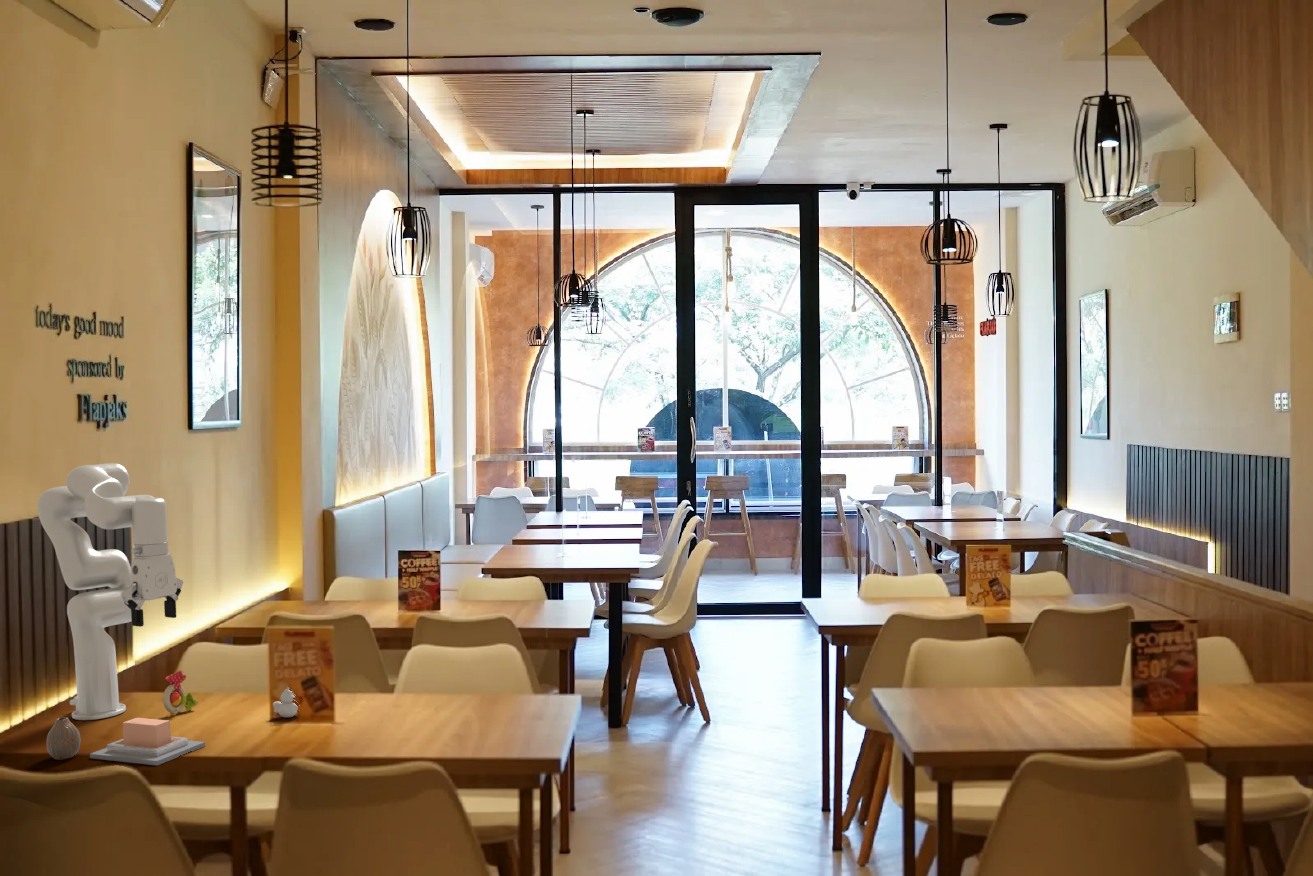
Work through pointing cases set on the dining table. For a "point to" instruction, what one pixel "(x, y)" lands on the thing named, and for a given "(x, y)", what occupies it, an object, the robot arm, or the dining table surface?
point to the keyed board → (147, 751)
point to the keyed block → (146, 732)
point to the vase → (63, 739)
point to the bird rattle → (177, 695)
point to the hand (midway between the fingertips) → (154, 621)
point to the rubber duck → (286, 704)
